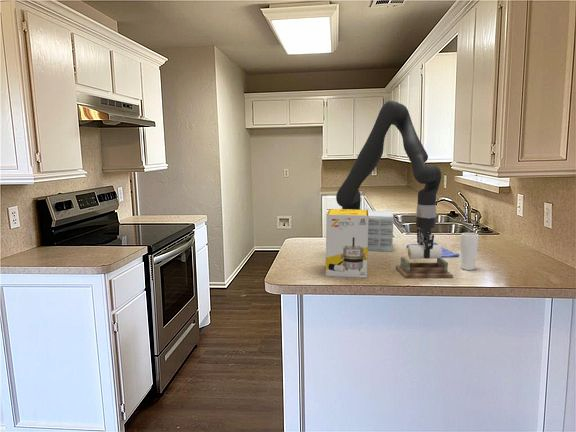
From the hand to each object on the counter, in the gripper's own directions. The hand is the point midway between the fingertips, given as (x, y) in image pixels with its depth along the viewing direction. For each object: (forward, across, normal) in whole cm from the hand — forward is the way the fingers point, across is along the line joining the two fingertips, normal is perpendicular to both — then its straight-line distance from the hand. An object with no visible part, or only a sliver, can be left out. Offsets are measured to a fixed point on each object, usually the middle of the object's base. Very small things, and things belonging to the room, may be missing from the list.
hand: (424, 256), depth 170 cm
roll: (+1, 0, 0) cm, 1 cm away
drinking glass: (+7, -6, +21) cm, 23 cm away
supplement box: (+7, -46, -8) cm, 47 cm away
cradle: (+7, 0, 0) cm, 7 cm away
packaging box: (+7, -3, -31) cm, 32 cm away
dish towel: (+8, -36, +16) cm, 40 cm away
